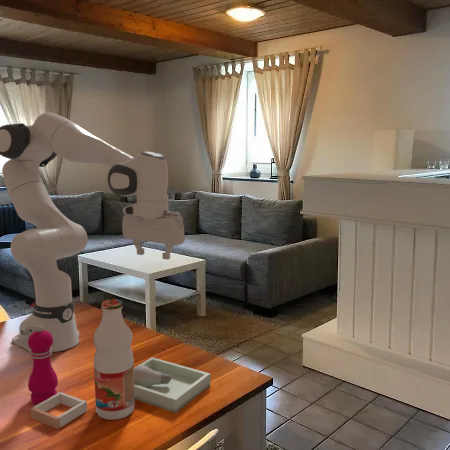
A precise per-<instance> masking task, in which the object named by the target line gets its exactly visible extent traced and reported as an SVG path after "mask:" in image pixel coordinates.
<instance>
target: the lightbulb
mask: <svg viewBox="0 0 450 450" xmlns="http://www.w3.org/2000/svg"><path fill="white" fill-rule="evenodd" d="M139 365H140V364H139ZM136 366H137V367H136ZM136 366H134V384H136V385H139V386H142V387H145V388H147V387H149V386H152V385H160V384H168V383H169V382H170V381H171V377H170V375H169V374H162V373H161V372H156V371H154V370H152V369H150V368H149V367H147V366H144V365H140V366H138V365H136Z"/></svg>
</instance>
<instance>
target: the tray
mask: <svg viewBox="0 0 450 450" xmlns="http://www.w3.org/2000/svg"><path fill="white" fill-rule="evenodd" d="M140 365H144V366H147V367H149V368H150V369H152V370H154V371H156V372H161V373H162V374H169V375H170V377H171V381H170V382H169V383H168V384H160V385H152V386H149V387H147V388H145V387H142V386H139V385H136V384H134V400H135V401H136V400H137V401H140V402H143V403H145V404H148V405H151V406H154V407H156V408H160V409H163V410H166V411H169V412H172V413H175V414H177V413H178V412H179V411H180V410H182V409H183V408H184V407H186V406H187V405H188V404H190V403H191V401H194V400H195V398H197V397H198V396H199V395H200V394H202V393H203V392H204V391H205V390H207V389H208V388H209V387H210V386H211V373H209V372H207V371H202V370H199V369H195V368H192V367H187V366H186V365H181V364H177V363H174V362H170V361H167V360H164V359H163V360H162V359H160V358H157V357H154V356H152V357H149V358H147V360H145V361H143V362H142V363H140V364H138V365H136V366H135V367H137V366H140Z"/></svg>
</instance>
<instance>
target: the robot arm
mask: <svg viewBox="0 0 450 450" xmlns="http://www.w3.org/2000/svg"><path fill="white" fill-rule="evenodd" d="M0 156H2V157H3V158H5V159H6V158H7V159H9V160H7V161H6V162H4V165H2V167H1V168H2V169H1V173H2V178H3V182H4V185H5V187H6V190H7V194H8V195H9V197H10V201H11V202H12V205H13V206H14V210H15V211H16V214H17V216H18V217H19V218H20V219H21V220H22V221H24V222H28V223H30V224H32V225H33V226H35V227H36V228H29V229H27V230H24V231H22V232H20V233H18V234H16V235H14V236H13V237H12V240H11V243H10V253H11V255H12V258H13V259H14V260H15V261H16V262H17V263H18V264H19V265H21V266H23V267H25V268H26V269H27V271H28V272H29V274H30V275H31V279H32V280H33V284H34V285H33V287H34V295H35V302H33V303H31V304H30V308H32V309H33V310H32V313H31V314H29V316H27V317H26V318H25V319H24V320H23V321H21V323H20V324H19V329H18V334H16V335H15V336H13V337H12V338H11V342H12V343H13V344H14V345H17V346H18V347H20V348H22V349H24V350H25V351H28V353H30V354H31V349H30V348H29V346H28V338H29V336H30V335H31V334H32V333H33V332H35V331H36V327H37V326H39V325H42V326H43V328H44V329H43V330H45V331H48V332H50V333H51V335H52V337H53V344H52V346H51V349H52V350H51V352H52V353H55V352H62V351H65V350H69V349H71V348H73V347H75V346H77V345H78V344H79V343H80V337H79V336H80V331H79V330H78V326H77V321H76V314H75V313H74V312H75V303H74V302H75V301H74V299H73V296H72V295H73V291H72V280H71V277H70V275H69V274H68V273H66V272H64V271H63V270H60V269H59V267H58V263H57V260H61V259H64V258H65V259H66V258H70V257H72V256H74V255H77V254H79V253H81V252H82V251H84V250H85V249H86V247H87V245H88V241H89V239H88V233H87V231H86V229H85V228H84V227H83V226H82V225H81V224H78V223H76V222H74V221H72V220H71V219H70V218H68V217H67V216H65V214H64V213H63V212H61V210H60V209H58V208H57V206H56V205H55V203H54V202H53V200H52V199H51V198H52V197H51V195H50V194H49V192H48V189H47V188H46V186H45V184H44V182H43V180H42V177H41V176H40V173H39V168H44V167H47V165H48V164H49V163H50V162H51V161H53V160H54V159H55V158H56V157H57V156H58V157H60V158H61V159H64V160H66V161H69V162H71V163H72V162H73V163H77V164H78V163H79V164H81V163H83V164H97V165H103V166H107V167H109V170H108V173H107V185H108V187H109V189H110V191H111V192H112V193H113V194H114V195H116V196H119V197H130V196H131V197H132V196H136V203H133V204H130V205H127V206H123V208H122V212H123V215H124V216H123V218H122V229H121V230H122V235H123V237H124V239H129V240H132V241H133V245H134V247H135V249H136V255H137V256H138V255H139V256H143V255H144V254H145V248H144V247H143V246H142V244H141V243H142V242H149V243H154V244H161V245H164V247H165V249H166V250H165V251H164V252H163V253H162V260H170V259H171V253H172V250H174V247H176V246H177V247H178V246H180V245H183V244H184V243H185V238H186V237H185V228H184V227H185V226H184V218H183V215H181V214H180V213H179V212H178V211H170V210H169V195H168V187H169V167H168V163H167V162H168V161H167V159H166V156H164V155H163V154H162V153H158V152H153V151H141V152H140V151H139V152H138V153H137V155H136V156H135V157H134V156H132V155H131V154H129V153H127V152H125V151H123V150H122V149H120V148H118V147H116V146H114V145H113V144H110V143H108V142H106V141H104V140H103V139H102V138H100V137H97V136H96V135H94V134H92V133H91V132H89V131H88V130H86V129H85V128H83V127H81V126H80V125H79V124H77V123H75V122H73V120H70V119H68V118H66V117H64V116H62V115H59V114H57V113H54V112H52V111H51V112H50V111H49V112H48V111H47V112H44V113H41V114H40V115H38V117H37V118H36V119H35V120H34V122H33V123H32V125H25V123H23V122H22V123H21V122H20V123H9V124H8V123H7V124H5V125H1V126H0Z"/></svg>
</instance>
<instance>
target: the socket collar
mask: <svg viewBox="0 0 450 450" xmlns="http://www.w3.org/2000/svg"><path fill="white" fill-rule="evenodd" d="M61 404H62V405H64V406H67V407H70V408H69V409H68V410H66V411H65V412H63V413H61V414H60V415H58V416H57V415H53V414H51V413H49V412H48V411H50V410H51V409H53V408H55V407H57V406H58V405H61ZM29 411H30V412H29V413H30V418H31V419H32V420H35V421H36V422H40V423H41V424H44V425H46V426H49V427H52V428H54V429H55V430H59V429H61V428H62V427H63V426H66V425H67V424H69V423H70V422H72V421H73V420H75V419H76V418H78V417H80V416H81V415H83V414H85V413H86V412H87V411H88V403H87V400H84V399H81V398H78V397H75V396H73V395H70V394H67V393H65V392H62V391H60V392H58V393H57V394H56V395H54V396H52V397H50V398H48V399H47V400H45V401H43V402H41V403H39V404H37V405H33V406H32V407H30V409H29Z"/></svg>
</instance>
